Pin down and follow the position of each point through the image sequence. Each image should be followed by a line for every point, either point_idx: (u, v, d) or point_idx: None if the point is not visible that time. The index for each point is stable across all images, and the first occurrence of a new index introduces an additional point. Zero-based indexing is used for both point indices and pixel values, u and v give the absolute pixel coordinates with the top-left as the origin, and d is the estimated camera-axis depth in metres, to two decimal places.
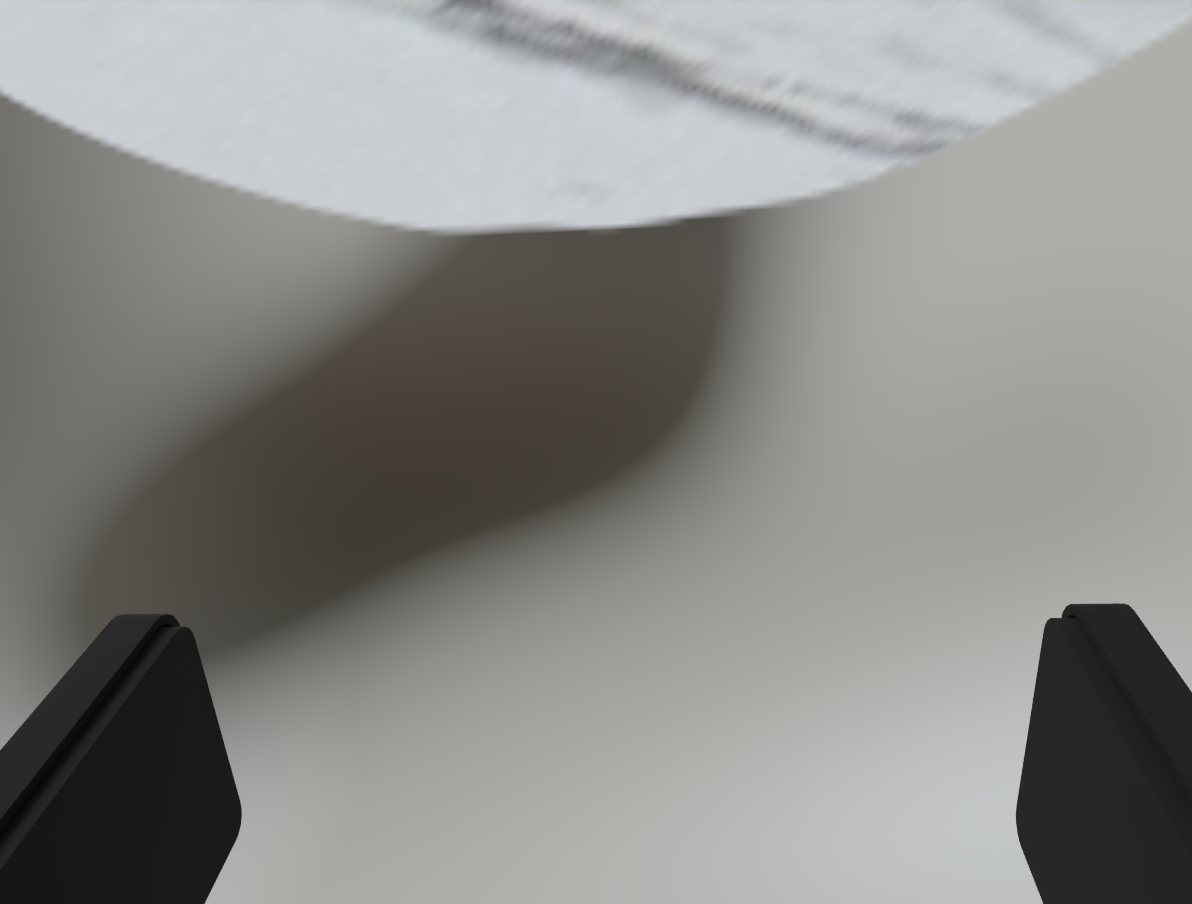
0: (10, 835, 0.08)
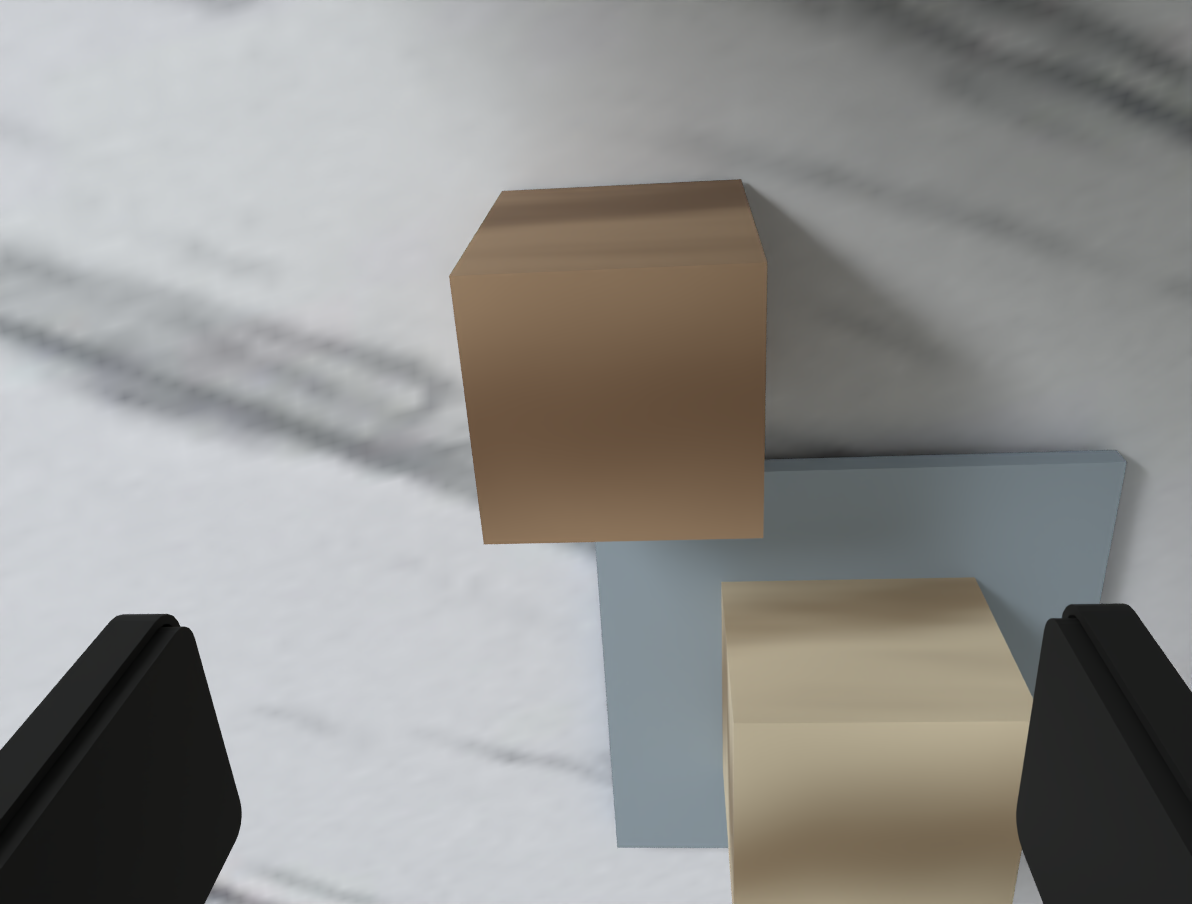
0: (10, 835, 0.08)
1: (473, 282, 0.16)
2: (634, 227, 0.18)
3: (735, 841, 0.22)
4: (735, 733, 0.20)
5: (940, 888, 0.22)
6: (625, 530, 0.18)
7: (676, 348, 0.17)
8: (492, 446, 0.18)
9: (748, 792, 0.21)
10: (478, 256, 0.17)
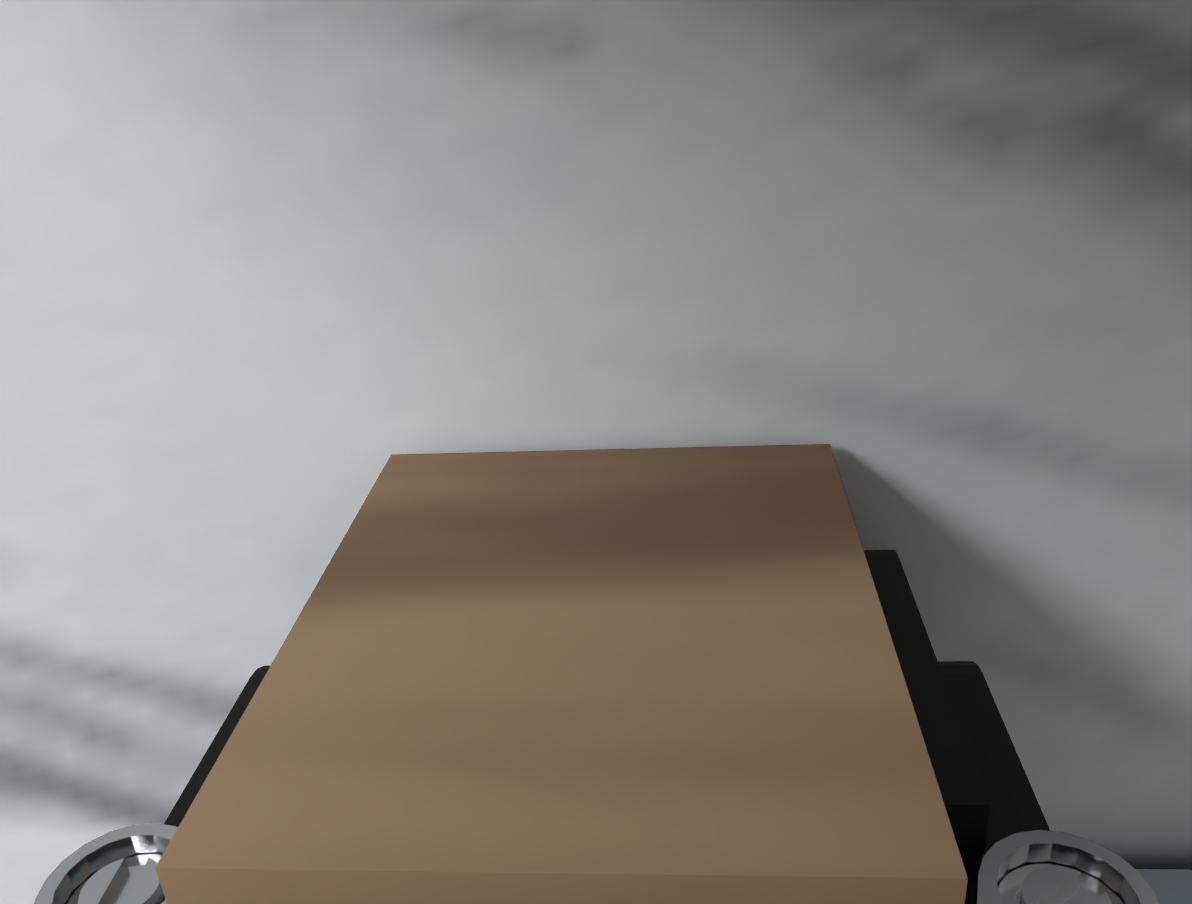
0: None
1: (216, 882, 0.07)
2: (626, 632, 0.08)
3: None
4: None
5: None
6: None
7: None
8: None
9: None
10: (262, 749, 0.07)
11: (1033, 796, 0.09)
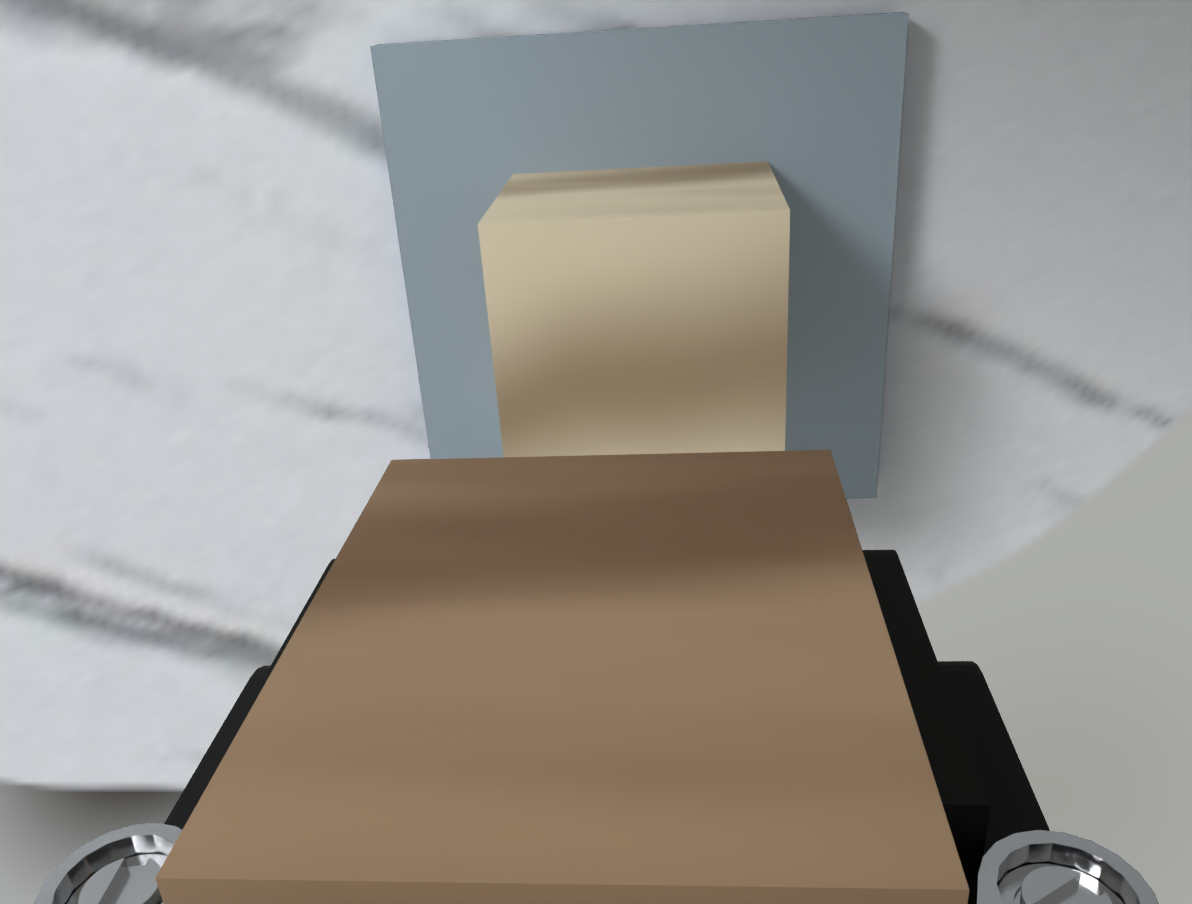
0: None
1: (216, 892, 0.06)
2: (626, 640, 0.08)
3: (496, 380, 0.21)
4: (480, 236, 0.20)
5: (710, 435, 0.22)
6: None
7: None
8: None
9: (502, 315, 0.21)
10: (263, 756, 0.07)
11: (1033, 796, 0.09)
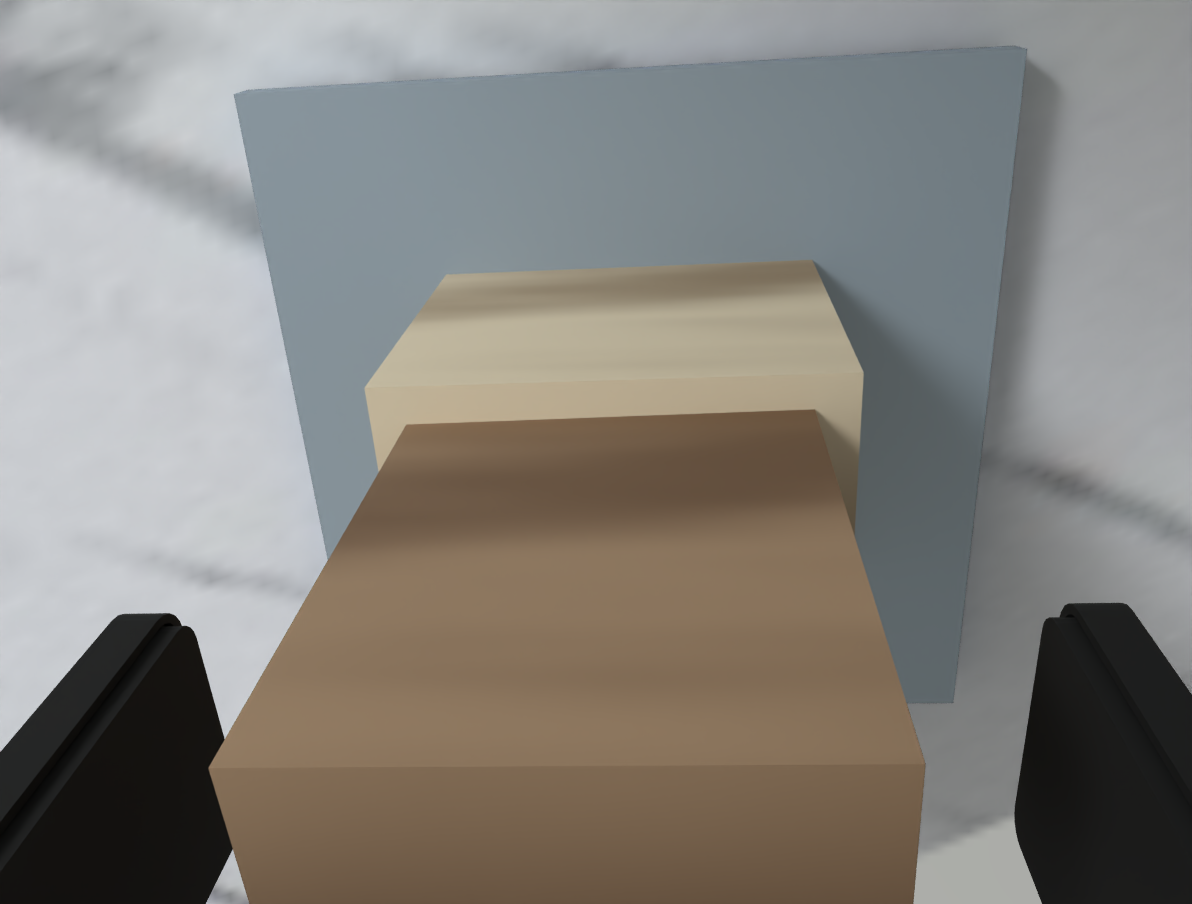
0: (12, 834, 0.08)
1: (262, 780, 0.07)
2: (625, 572, 0.09)
3: None
4: (369, 406, 0.13)
5: None
6: None
7: None
8: None
9: None
10: (298, 672, 0.08)
11: None
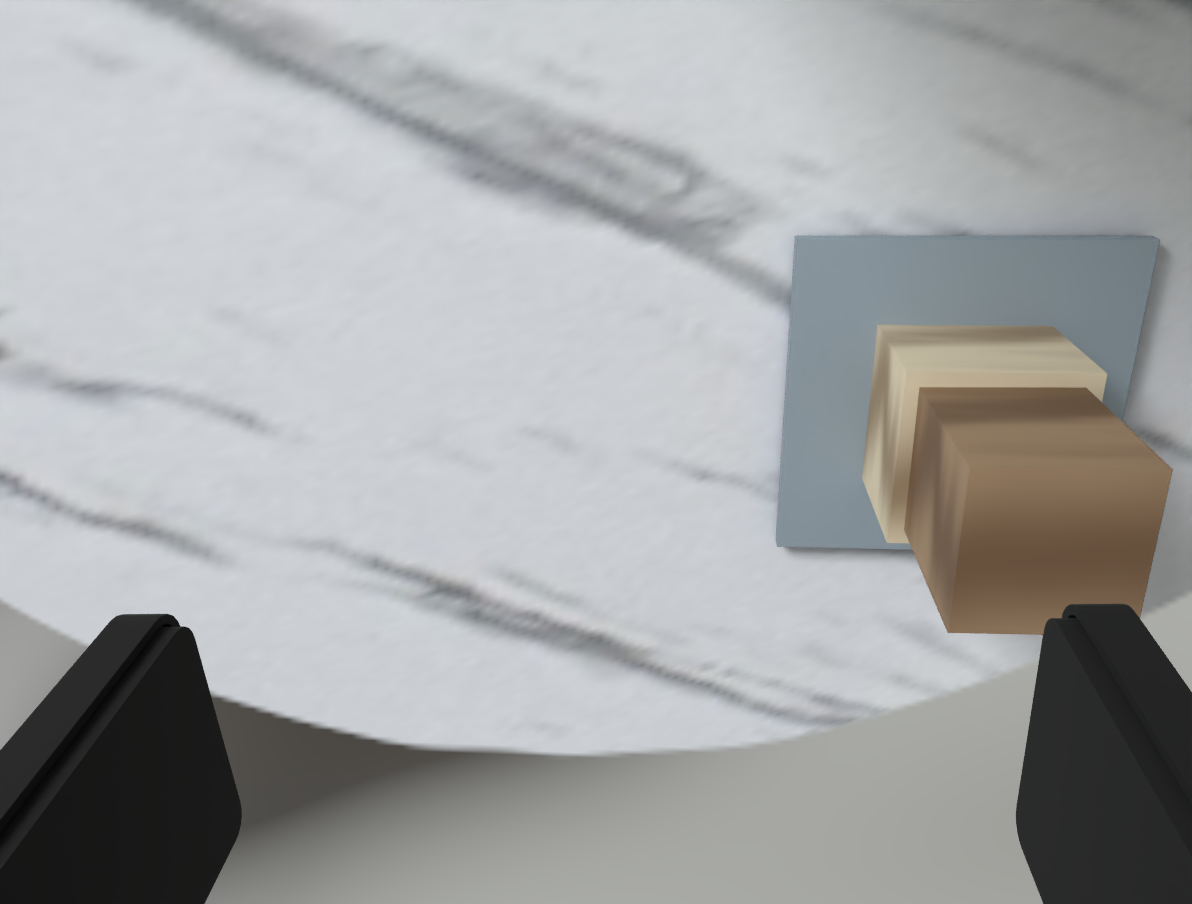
0: (10, 835, 0.08)
1: (984, 472, 0.26)
2: (1053, 431, 0.28)
3: (896, 468, 0.33)
4: (906, 379, 0.32)
5: None
6: (1044, 627, 0.28)
7: (1104, 517, 0.27)
8: (969, 571, 0.27)
9: (909, 427, 0.32)
10: (970, 451, 0.27)
11: None
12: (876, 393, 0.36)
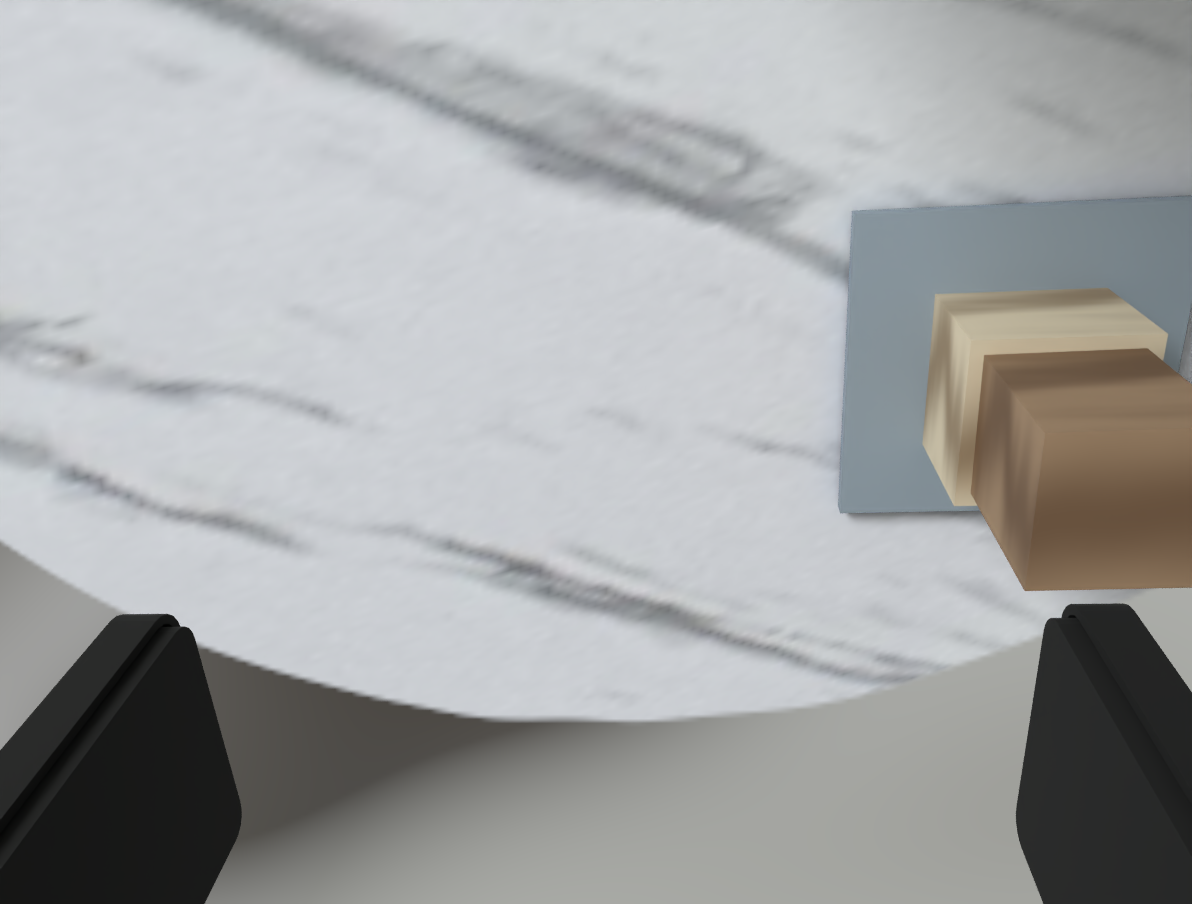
0: (10, 835, 0.08)
1: (1058, 436, 0.27)
2: (1121, 393, 0.29)
3: (962, 434, 0.34)
4: (971, 347, 0.33)
5: None
6: (1118, 582, 0.29)
7: (1176, 474, 0.28)
8: (1045, 531, 0.29)
9: (974, 394, 0.33)
10: (1043, 416, 0.28)
11: None
12: (936, 361, 0.37)
